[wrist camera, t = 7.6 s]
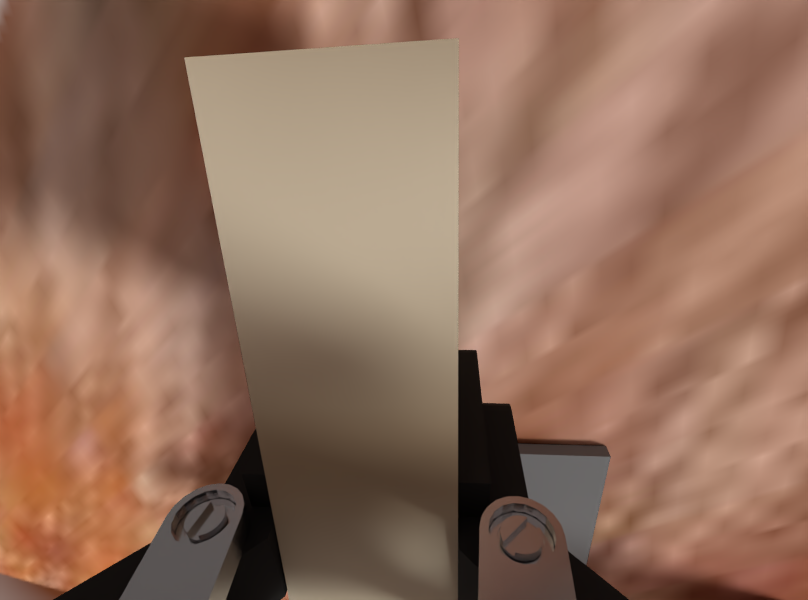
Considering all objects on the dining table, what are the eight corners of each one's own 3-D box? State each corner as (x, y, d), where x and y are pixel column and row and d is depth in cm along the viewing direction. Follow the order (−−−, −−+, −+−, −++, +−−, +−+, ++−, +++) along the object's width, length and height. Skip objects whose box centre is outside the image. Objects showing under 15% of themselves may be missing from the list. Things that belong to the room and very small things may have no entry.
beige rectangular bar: (271, 101, 9) (100, 63, 5) (501, 88, 9) (558, 30, 4) (347, 658, 16) (305, 870, 11) (482, 669, 16) (497, 896, 11)
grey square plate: (256, 436, 20) (251, 445, 20) (605, 446, 19) (610, 456, 18) (309, 619, 28) (306, 630, 27) (564, 639, 26) (566, 650, 25)
